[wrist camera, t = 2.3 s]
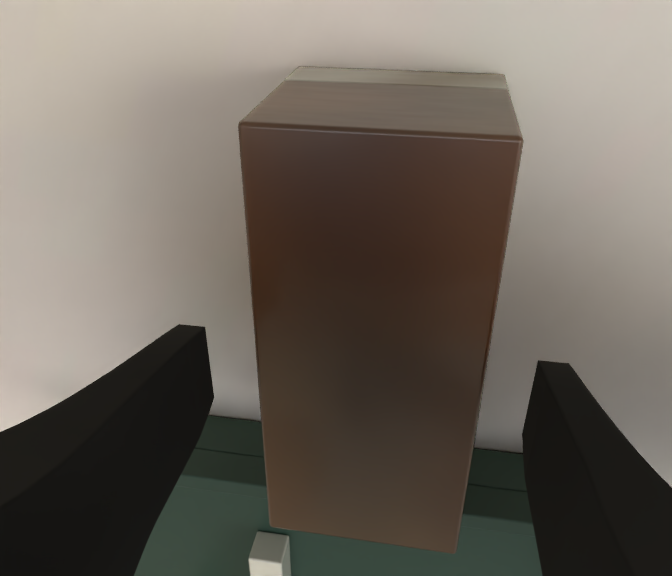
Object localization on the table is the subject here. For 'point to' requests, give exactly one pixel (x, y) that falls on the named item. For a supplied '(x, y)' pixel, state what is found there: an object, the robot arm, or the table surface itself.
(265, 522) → the tray
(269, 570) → the white chalk
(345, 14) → the table surface
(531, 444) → the robot arm
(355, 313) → the eraser
